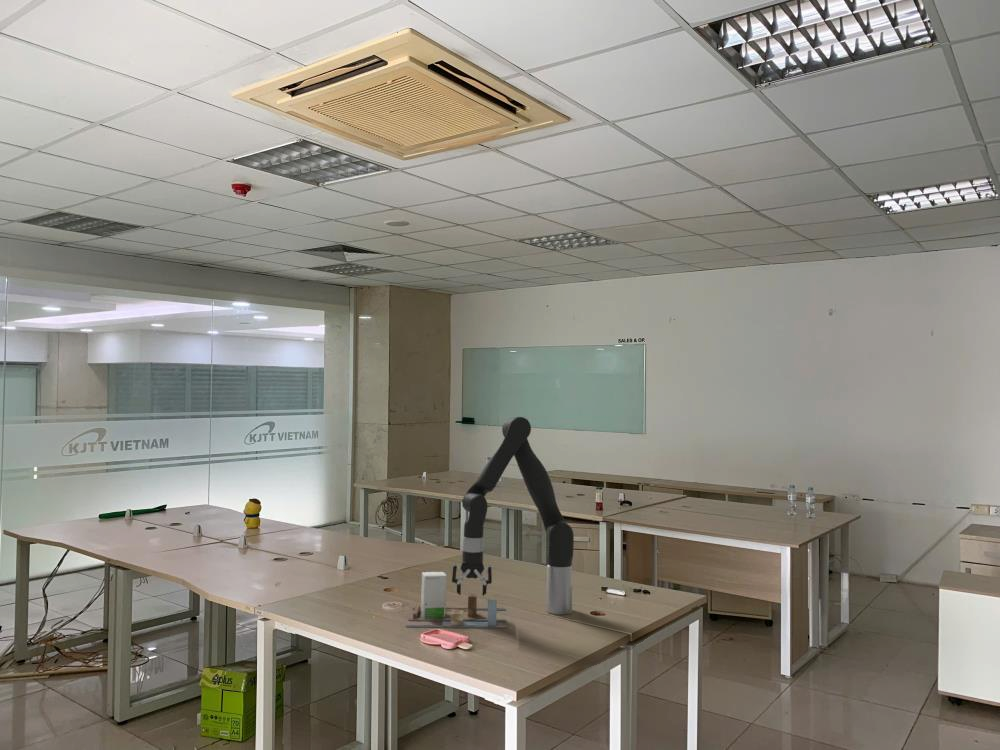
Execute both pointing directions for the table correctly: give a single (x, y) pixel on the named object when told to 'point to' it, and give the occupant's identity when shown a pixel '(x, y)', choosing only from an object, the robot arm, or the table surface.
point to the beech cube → (457, 617)
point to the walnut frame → (471, 609)
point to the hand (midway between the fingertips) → (471, 594)
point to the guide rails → (457, 625)
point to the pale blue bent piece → (491, 616)
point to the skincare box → (433, 594)
